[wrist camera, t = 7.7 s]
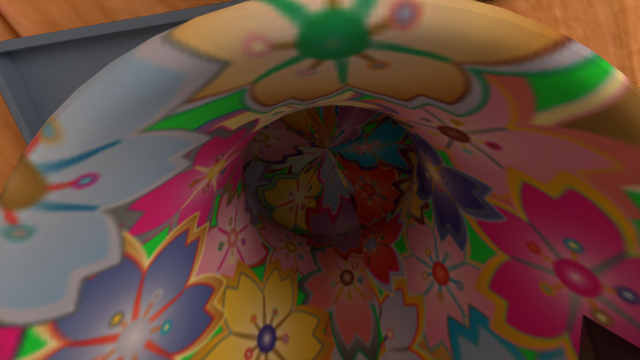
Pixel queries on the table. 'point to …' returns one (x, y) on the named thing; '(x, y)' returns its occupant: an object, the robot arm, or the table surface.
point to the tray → (73, 61)
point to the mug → (330, 193)
